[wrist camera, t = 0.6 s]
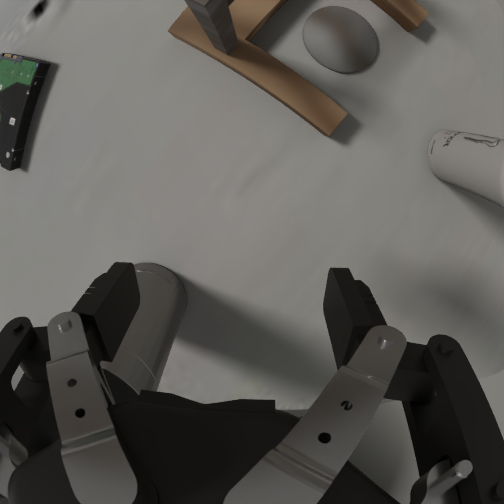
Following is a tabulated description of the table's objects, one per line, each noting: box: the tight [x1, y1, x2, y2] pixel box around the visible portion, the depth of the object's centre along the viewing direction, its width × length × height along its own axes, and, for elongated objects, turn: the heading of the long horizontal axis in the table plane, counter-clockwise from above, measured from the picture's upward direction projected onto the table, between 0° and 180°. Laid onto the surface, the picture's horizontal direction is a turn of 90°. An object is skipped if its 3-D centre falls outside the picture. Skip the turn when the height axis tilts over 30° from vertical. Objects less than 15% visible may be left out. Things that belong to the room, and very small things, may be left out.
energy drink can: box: [427, 130, 504, 208], centre depth 22 cm, size 6×6×15 cm
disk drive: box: [0, 53, 50, 171], centre depth 25 cm, size 10×3×15 cm
